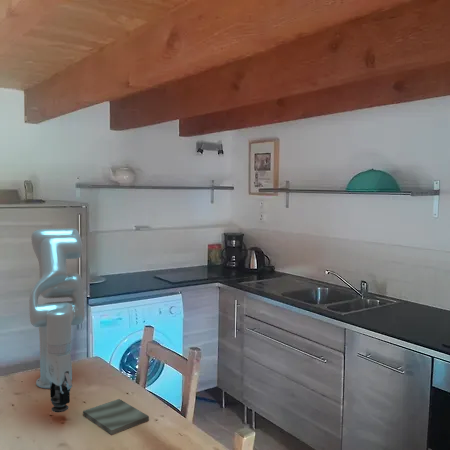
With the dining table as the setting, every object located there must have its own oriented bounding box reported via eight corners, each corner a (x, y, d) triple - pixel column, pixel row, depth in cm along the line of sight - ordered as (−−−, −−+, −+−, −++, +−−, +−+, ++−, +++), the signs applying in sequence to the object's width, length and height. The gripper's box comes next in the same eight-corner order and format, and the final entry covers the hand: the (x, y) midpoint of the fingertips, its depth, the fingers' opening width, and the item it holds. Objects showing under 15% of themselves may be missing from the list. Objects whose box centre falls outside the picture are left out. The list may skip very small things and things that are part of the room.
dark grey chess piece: (71, 404, 167) (71, 370, 165) (66, 412, 161) (66, 377, 160) (53, 404, 166) (53, 369, 165) (48, 412, 161) (47, 377, 159)
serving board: (83, 415, 167) (82, 410, 166) (119, 402, 176) (119, 398, 176) (111, 435, 154) (111, 430, 154) (148, 420, 163) (148, 416, 163)
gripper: (36, 342, 165) (37, 394, 167) (60, 357, 153) (61, 413, 155) (58, 338, 170) (58, 388, 172) (82, 351, 158) (83, 406, 160)
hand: (60, 399), depth 163 cm, fingers closed on dark grey chess piece, 5 cm apart
